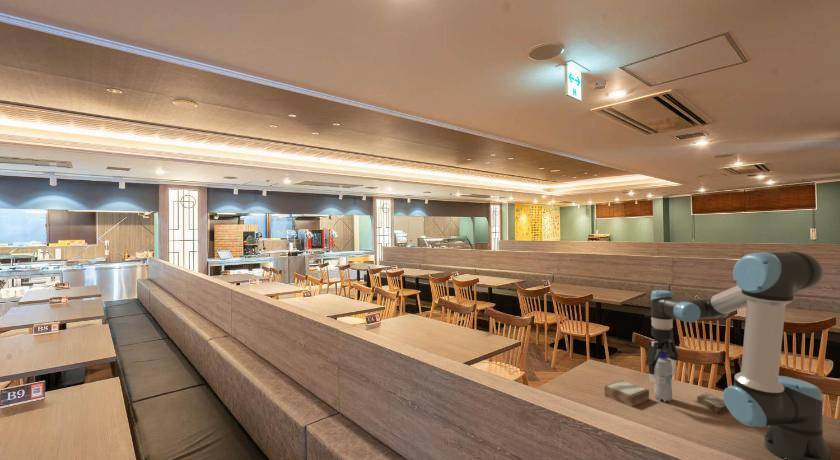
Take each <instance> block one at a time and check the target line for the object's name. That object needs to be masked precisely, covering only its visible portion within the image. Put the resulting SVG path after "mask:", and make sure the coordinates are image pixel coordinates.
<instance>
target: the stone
mask: <svg viewBox="0 0 840 460" xmlns="http://www.w3.org/2000/svg"><path fill="white" fill-rule="evenodd" d="M696 397H697V398H696V402H697V403H699V404H701V405H702V406H703V407H705V408H707V409H709V410H710V411H712V412H714V413H715V414H716V415H717V414H718V415H723V414H724V413H726V412H727V411H729V410H728V409H727V407H726V405H725V402H724V398H723V399H722V398H721V397H717V396H715V395H713V394H711V393H709V392H703V393H701V394H698V395H696Z"/></svg>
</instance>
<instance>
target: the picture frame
mask: <svg viewBox="0 0 840 460" xmlns="http://www.w3.org/2000/svg"><path fill="white" fill-rule="evenodd" d="M604 396H605V397H607V398H609V399H613V400H615V401H617V402H619V403H622V404H624V405H627V406H629V407H631V408H632V407H635V406H637V405H641V403H644V402H648V401H649V400H650V390H649V389H646V388H644V387H641V386H639V385H636V384H634V383H630V382H628V381H624V380H621V379H620V380H619V381H616V382H613V383H610V384H608V385H605V386H604Z"/></svg>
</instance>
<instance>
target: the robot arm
mask: <svg viewBox="0 0 840 460" xmlns="http://www.w3.org/2000/svg"><path fill="white" fill-rule="evenodd" d="M732 271H733V272H732V277H733V280H734V282H736V283H735V284H736V285H735V286H733V287H730V288H728V289H725V290H723V291H722V292H721V291H720V292H719V293H716V294H714V295H712V296H709V297H707V298H698V299H697V298H696V299H677V298H675V297H674V296H673V292H671V291H670V290H666V289H665V290H663V289H655V290H652V291H651V292H650V293H651V295H650V309H651V310H650V315H651V318H650V320H651V326H652V327H651V328H650V329H651V331H650V334H651V336H652V337H653V338H654V341H652V340H650V341H649V347H648V350H647V353H646V354H647V355H646V359H645V363H644V364H645V365H647V366H648V381H649V382H651V383H654V384H655V383H657V367H656V363H657V361H658V358H659V356H660V353H662V352H665V353H666V354H667V359H669V360H670V361H671V364H672V373H671V376H673V377H674V376H676V361H678V360H679V352H678V350H677V347H676V343H675V337H673V336H674V331H673V327H674V326H673V323H674V322H673V319H676V320H678V321H682V322H685V323H695V322H696V321H698V320H702V319H723V318H726V317H728V316H729V315H730V313H733V312H736V311H737V310H740V309H743V308H746V309H745V310H746V312H745V324H744V334H743V347H742V355H741V356H742V360H741V369H740V372H738V373H735V375H734V379H733V385H729V386H728V387H725V389H724V390H723V393H722V394H723V397H722V398H723V400H724V402H725V405H726V407H727V409H728V411H729V413H730V415H732V417H733V418H734V419H736V421H738V422H739V423H741V424H742V425H744V426H747V427H759V428H763V427H768V428H767V431H766V432H765V434H764V437H763V438H764V439H763V442H764V443H763V444H764V447H765V448H766V449H767V451H769V452H770V451H771V454H773V453H774V455H775V454H776V455H775V456H777V455H778V456H777V457H779V456H780V457H779V458H781V457H783V458H787V459H789V460H832V459H833V457H832V454H831V452H830V449H829V447H828V445H827V442H826V440H825V437H824V430H823V427H824V426H823V424H824V423H823V422H824V421H823V419H824V418H823V402H824V399H823V394H822V390H821V389H820V388H819V386H817V385H815V384H812V383H810V382H808V381H805V380H802V379H798V378H794V377H791V376H786V375H779V374H780V368H781V367H780V366H781V365H780V364H781V353H782V345H783V344H782V343H783V335H784V325H785V316H786V315H785V314H786V313H785V312H786V305H788V304H790V303H792V302H793V301H794V298H795V297H794V296H795V294H796V293H798V292H802V291H805V290H808V289H811V288H814V287H815V286H816V285H818V284H819V283H820V282H821V280H822V279H823V275H824V270H823V267H822V264H821V263H820V262H819V260H817V258H815V257H814V256H813V255H810V254H809V253H805V252H802V251H795V250H793V251H791V250H790V251H759V252H754V253H748V254H745V255H743V256H742V257H741V258H739V259H738V261H736V263H735V264H734V267H733V270H732ZM673 297H674V298H673ZM783 458H782V459H783Z"/></svg>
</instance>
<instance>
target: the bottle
mask: <svg viewBox="0 0 840 460" xmlns="http://www.w3.org/2000/svg"><path fill="white" fill-rule="evenodd" d="M669 359H670V358H669ZM669 359H668V355H667V353H666V352H665V351H663V352H662V353H660V356H659V358H658V361H657V363H656V367H657V383H655V382H654V389H653V390H654V397H655V399H657V400H658V401H660V402H661V401H662V400H663V402H664V403H665V402H668V403H669V402H671V401H672V399H673V389H672V387H673V386H672V375H671V373H672V364H671V361H670V360H669Z"/></svg>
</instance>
